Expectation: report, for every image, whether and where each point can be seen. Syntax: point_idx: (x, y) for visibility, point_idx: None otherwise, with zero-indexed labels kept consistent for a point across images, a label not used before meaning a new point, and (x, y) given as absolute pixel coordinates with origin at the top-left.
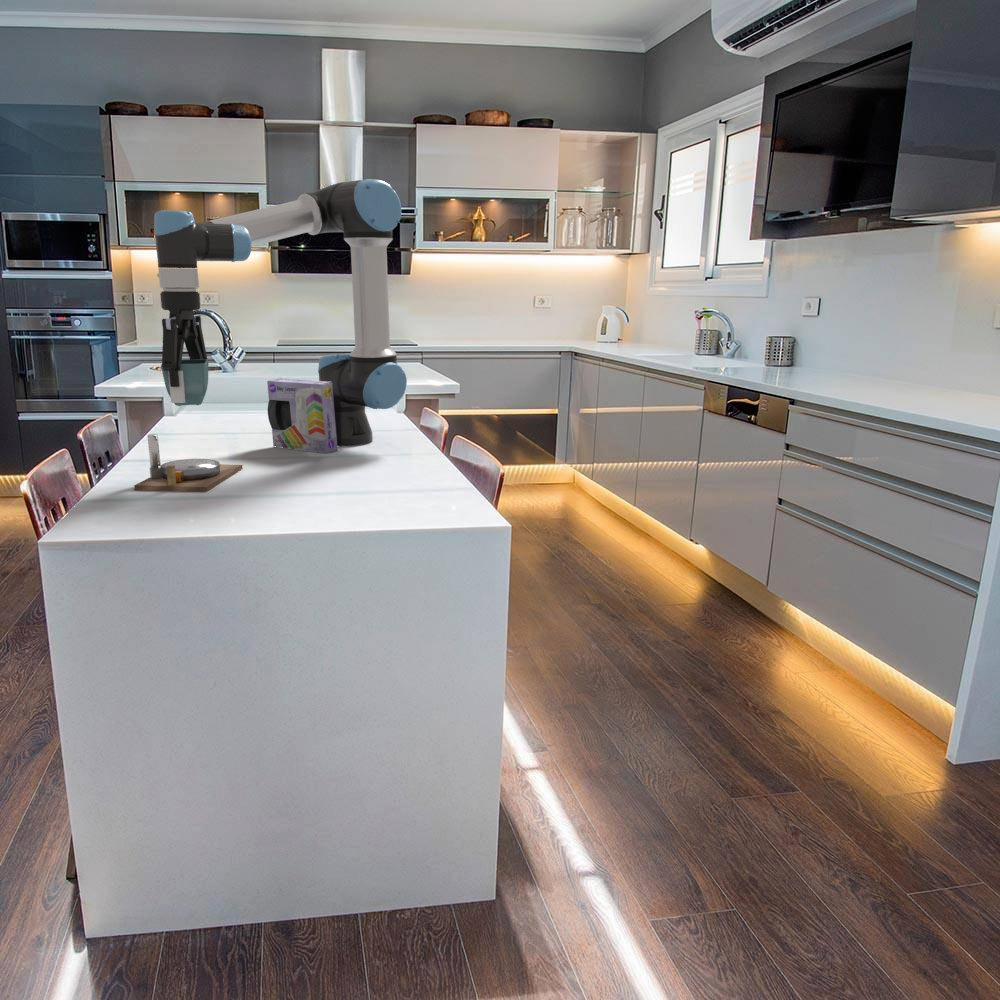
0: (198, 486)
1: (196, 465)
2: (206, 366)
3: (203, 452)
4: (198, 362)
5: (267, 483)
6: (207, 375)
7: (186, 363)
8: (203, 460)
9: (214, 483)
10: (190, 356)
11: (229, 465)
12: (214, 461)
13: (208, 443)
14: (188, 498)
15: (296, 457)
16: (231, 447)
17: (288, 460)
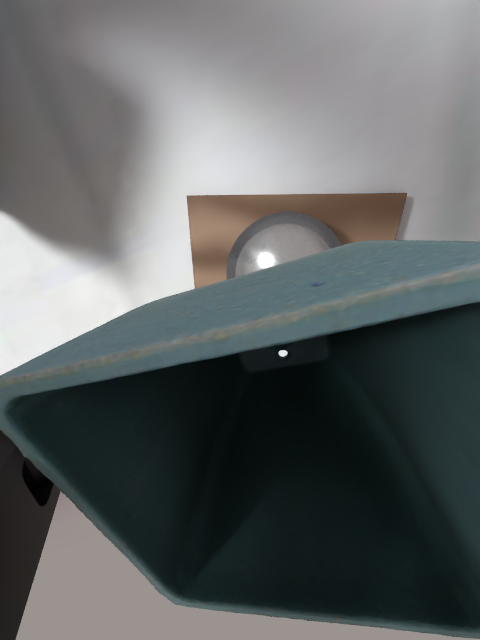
0: (398, 214)
1: (297, 258)
2: (419, 263)
3: (88, 319)
4: (72, 439)
5: (326, 58)
6: (198, 296)
7: (129, 496)
8: (246, 261)
9: (355, 194)
10: (36, 542)
11: (197, 222)
12: (249, 235)
13: (31, 332)
14: (459, 211)
15: (52, 104)
16: (37, 287)
17: (85, 113)
